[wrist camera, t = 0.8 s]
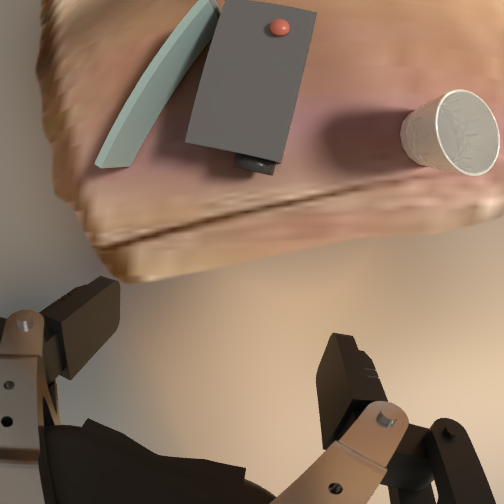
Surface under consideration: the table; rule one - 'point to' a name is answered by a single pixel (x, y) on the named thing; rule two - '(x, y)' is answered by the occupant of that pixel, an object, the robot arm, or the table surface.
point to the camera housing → (251, 82)
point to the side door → (158, 85)
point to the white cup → (452, 134)
